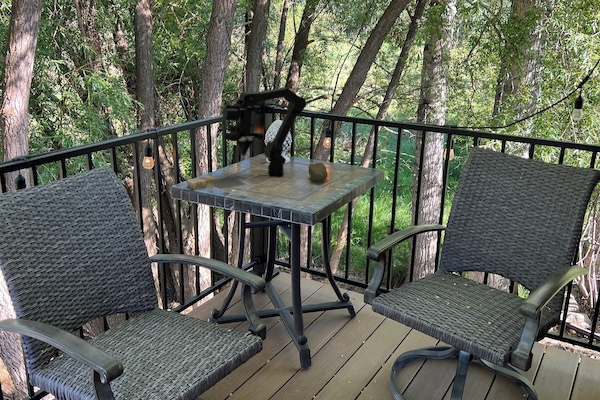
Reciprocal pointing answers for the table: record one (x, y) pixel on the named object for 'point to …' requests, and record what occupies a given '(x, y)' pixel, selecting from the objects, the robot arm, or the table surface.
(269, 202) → the table surface
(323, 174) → the stone
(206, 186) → the maple block
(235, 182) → the rubber mat
